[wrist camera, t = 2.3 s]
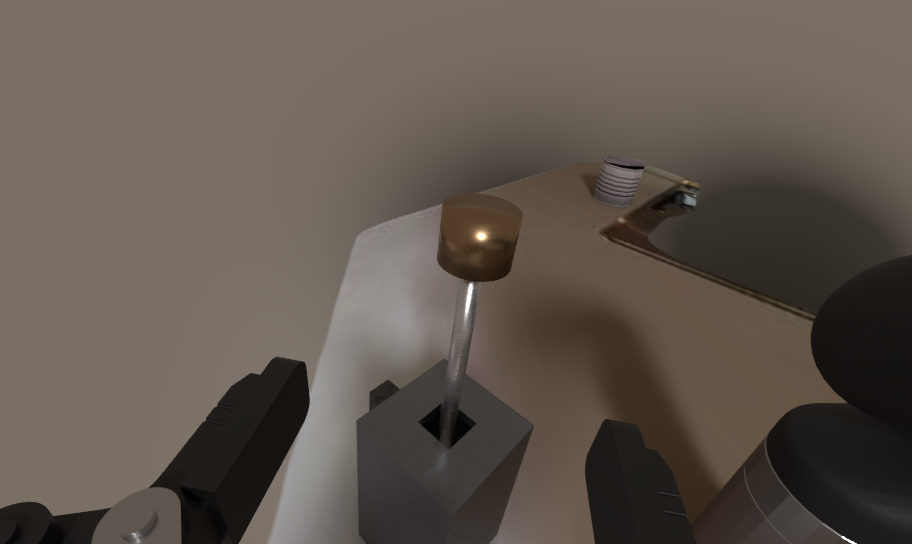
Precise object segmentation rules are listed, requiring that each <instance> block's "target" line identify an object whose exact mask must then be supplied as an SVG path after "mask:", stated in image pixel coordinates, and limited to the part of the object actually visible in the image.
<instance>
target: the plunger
mask: <svg viewBox="0 0 912 544" xmlns="http://www.w3.org/2000/svg"><path fill="white" fill-rule="evenodd" d="M522 217H523V214H522V212H521V210H520V209H519V208H518V207H517V206H516V205H514V204H512V203H511V202H509V201H506V200H504V199H501V198H498V197H495V196H490V195H485V194H475V193H465V194H457V195H453V196H451V197H448V198H447V199H446V200H445V201H444V202H443V206H442V215H441V224H440V234H439V243H438V253H437V261H438V263H439V265H440V266H441V267H442V268H443V269H444V270H445V271H446V272H448V273H449V274H451V275H453V276H456V277H458V278H460V284H459V291H458V297H457V304H456V311H455V318H454V325H453V331H452V338H451V345H450V352H449V359H448V366H447V372H446V379H445V386H444V393H443V400H442V406H441V410H440V411H439V412H437V413H436V414H435V415H434V416H433V417H431V418H430V419H429V420H428V421H426V422H425V423H424V424H423V425H422V426H423V427H424V428H425V429H426V430H427V431H428V432H429V433H430V434H432V435H433V436H434V437H435V438H436V439H437V440H438V441H439V442H441V443H442V444H443V445H444V446H445V447H446V448H447V449H448V450H449V449H450V448H451V447H453V446H454V445H455V444H456V443H457V442H458V441H459V440H460V439H461V438H462V437H463V436H464V435H465V434H466V433H467V432H469V431H470V430H471V429H472V428H471V427H470V426H469V425H468V424H467V423H465V422H464V421H463V420H462V419H461V418H459V417H458V410H459V405H460V399H461V394H462V388H463V383H464V377H465V372H466V366H467V360H468V355H469V349H470V344H471V338H472V333H473V327H474V322H475V316H476V311H477V305H478V300H479V294H480V289H481V283H482V282H489V281H495V280H498V279H501V278H503V277H505V276H506V275H508V273H509V272H510V270H511V267H512V262H513V258H514V253H515V249H516V244H517V240H518V235H519V231H520V226H521V222H522Z"/></svg>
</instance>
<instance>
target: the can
mask: <svg viewBox="0 0 912 544" xmlns="http://www.w3.org/2000/svg"><path fill="white" fill-rule="evenodd" d="M603 159H604V161H603V164H602V167H601V171H600V174H599V177H598V180H597V183H596V187H595V190H594V193H593V196H592V197H593V198H594V199H596V200H597V201H598V202H601V203H603V204H606V205H609V206H614V207H621V208H622V207H629V206H630V204H631V202H632V199H633V196H634V194H635V191H636V188H637V185H638V183H639V180H640V177H641V175H642V172H643V169H644V166H645V165H646V163H644V162H642V161H639V160H635V159H630V158H625V157H605V158H603Z"/></svg>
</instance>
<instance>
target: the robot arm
mask: <svg viewBox="0 0 912 544" xmlns="http://www.w3.org/2000/svg"><path fill="white" fill-rule="evenodd" d="M811 347H812V354H813V357H814V360H815V363H816V366H817V368H818V370H819V371H820V373H821V375H822V377H823V378H824V380H825V381H826V382H827V383H828V384H829V386H830V387H831V388H832V389H833V390H834V392H836V393H837V394H838V395H839V396H840V397H842V398H843V399H844V400H845V401H846V402H847V403H813V404H806V405H801V406H798V407H796V408H794V409H792V410H790V411H789V412H787V413H786V414H785V415H784V416H783V417H782V418H781V419H780V420H779V421H778V422H777V423H776V425H775V426H774V427H773V428H772V429H771V431H770V432H769V433H768V435H767V436H766V437H765V438H764V439H763V441H762V442H761V443H760V444H759V445H758V447H757V448H756V449H755V450H754V451H753V453H752V454H751V455H750V456H749V457H748V459H747V460H746V461H745V462H744V463H743V465H742V466H741V467H740V468H739V469H738V470H737V472H736V473H735V474H734V475H733V476H732V478H731V479H730V480H729V481H728V482H727V483H726V485H725V486H724V487H723V488H722V489H721V491H720V492H719V493H718V494H717V495H716V496H715V498H714V499H713V500H712V501H711V502H710V504H709V505H708V506H707V507H706V508H705V510H704V511H703V512H702V513H701V514H700V515H699V517H698V518H697V519H696V520H695V521H694V523H693V524H692V525H691V526H690V523H689V521H688V518H686V512H685V509H684V506H683V503H682V500H681V499H680V498H679V491H678V488H677V485H676V483H675V480H674V477H673V474H672V471H671V470H670V469H669V467H668V466H667V464H666V463H665V462H664V460H663V459H662V457H661V456H660V455H659V453H658V452H657V451H655V450H650V449H645V445H644V442H643V439H642V435H641V432H640V429H639V428H638V426H637V425H635V424H630V423H625V422H619V421H614V420H609V419H605V420H604V421H603V423H602V425H601V427H600V429H599V431H598V433H597V435H596V437H595V439H594V441H593V444H592V446H591V448H590V450H589V452H588V454H587V458H586V465H585V478H586V485H587V492H588V499H589V505H590V512H591V519H592V526H593V532H594V539H595V544H912V255H910V256H905V257H900V258H896V259H892V260H889V261H886V262H883V263H880V264H877V265H875V266H873V267H870V268H868V269H866V270H864V271H862V272H860V273H858V274H857V275H855V276H854V277H852V278H850V279H849V280H847V281H846V282H845V283H844V284H842V285H841V286H840V287H839V288H838V289H837V290H835V291H834V292H833V293H832V294H831V295H830V296H829V297H828V299H827V300H826V301H825V302H824V303H823V305H822V306H821V308H820V310H819V312H818V313H817V315H816V317H815V320H814V323H813V326H812V331H811ZM309 403H310V397H309V388H308V379H307V370H306V364H305V362H302V361H297V360H291V359H286V358H280V357H275V358H273V359H272V360H271V361H270V363H269V364H268V365H267V367H266V368H265V369H264V371H263V372H262V373H261V375H258V374H253V373H250V374H249V375H247V376H246V377H244V378H243V379H241V380H240V381H238V382H237V383H236V384H234V385H233V386H231V387H230V389H229V390H228V391H227V392H226V394H225V395H224V396H223V398H222V399H221V400H220V401H219V403H218V405H217V407H215V408H214V409H213V410H212V411H211V413H210V414H209V415H208V417H207V418H206V421H205V422H203V423H202V424H201V425H200V426H199V428H198V429H197V430H196V432H195V433H194V434H193V435H192V437H191V438H190V439H189V440H188V442H187V443H186V444H185V445H184V447H183V448H182V449H181V451H180V452H179V453H178V454H177V456H176V457H175V458H174V459H173V461H172V462H171V463H170V464H169V466H168V467H167V468H166V470H165V471H164V472H163V473H162V474H161V476H160V477H159V478H158V479H157V480H156V481H155V482H154V483H153V484H152V485H151V486H150V487H149V488H147V489H144V490H141V491H138V492H135V493H133V494H131V495H129V496H127V497H126V498H124V499H122V500H121V501H120V502H118V503H117V504H116V505H114V506H113V507H112V508H108V509H102V510H95V511H88V512H81V513H74V514H66V515H58V516H53V515H52V514H51V513H50V511H49V510H48V509H47V508H46V507H45V506H44V505H42V504H40V503H36V502H23V503H18V504H13V505H10V506H7V507H4V508H2V509H0V544H239V542H240V540H241V538H242V536H243V535H244V532H245V531H246V529H247V527H248V525H249V523H250V521H251V520H252V518H253V516H254V514H255V512H256V510H257V508H258V507H259V505H260V503H261V501H262V499H263V497H264V496H265V494H266V492H267V490H268V488H269V486H270V484H271V483H272V481H273V479H274V477H275V475H276V473H277V471H278V470H279V468H280V466H281V464H282V462H283V460H284V458H285V456H286V455H287V453H288V451H289V449H290V447H291V445H292V444H293V442H294V440H295V438H296V436H297V434H298V432H299V431H300V429H301V427H302V425H303V423H304V421H305V419H306V416H307V413H308V409H309Z"/></svg>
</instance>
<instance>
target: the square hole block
mask: <svg viewBox="0 0 912 544" xmlns="http://www.w3.org/2000/svg"><path fill="white" fill-rule="evenodd" d="M447 366H448V361H447V360H446V359H443V360H442V361H440V362H439V363H438V364H436V365H435V366H433V367H432V368H430V369H429V370H428V371H426V372H425V373H423V374H422V375H421V376H419V377H418V378H416V379H415V380H413V381H412V382H411V383H409V384H408V385H406V386H405V387H404V388H402V389H401V390H400V389H399V388H398V387H396V386H395V385H394V384H393V383H392V382H391V381H389V380H387V381H386V382H384V383H383V384H381V385H380V386H378V387H377V388H375V389H374V390H372V391H370V411H369V412H368V413H367V414H365V415H364V416H362V417H361V418H359V419H358V420H357V464H358V510H359V535H360V536H361V538H362V539H363V540H364V541H365V542H366V544H490V542H491V541H492V540H493V538H494V537H495V536H496V535H497V532H498V530H499V527H500V524H501V521H502V518H503V515H504V512H505V509H506V506H507V503H508V500H509V497H510V494H511V492H512V489H513V486H514V483H515V480H516V477H517V474H518V471H519V468H520V465H521V462H522V459H523V457H524V454H525V451H526V448H527V445H528V442H529V439H530V436H531V433H532V430H533V427H534V425H533V424H532V423H531V422H529V421H528V420H527V419H525V418H524V417H523V416H521V415H520V414H519V413H517V412H516V411H515V410H513V409H512V408H510V407H509V406H508V405H506V404H505V403H504V402H502V401H501V400H500V399H498V398H497V397H496V396H494V395H493V394H492V393H490V392H489V391H488V390H486V389H485V388H483V387H482V386H481V385H479V384H478V383H477V382H475V381H474V380H473V379H471V378H470V377H469V376H467V375H466V374H465V377H464V383H463V388H462V394H461V399H460V405H459V410H458V417H459V418H461V419H462V420H463V421H464V422H465V423H467V424H468V425H469V426H470V427H471V428H472V429H471V430H470V431H469V432H467V433H466V434H465V435H464V436H463V437H462V438H461V439H460V440H459V441H458V442H457V443H456V444H455V445H454V446H453V447H451V448H450V449H449V450H448V449H447V448H446V447H445V446H444V445H443V444H442V443H441V442H439V441H438V440H437V439H436V438H435V437H434V436H433V435H432V434H430V433H429V432H428V431H427V430H426V429H425V428H424V427H423V426H422V425H423V424H424V423H425V422H426V421H428V420H429V419H430V418H431V417H433V416H434V415H435V414H436V413H437V412H439V411H440V410H441V406H442V400H443V393H444V386H445V379H446V372H447Z"/></svg>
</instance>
